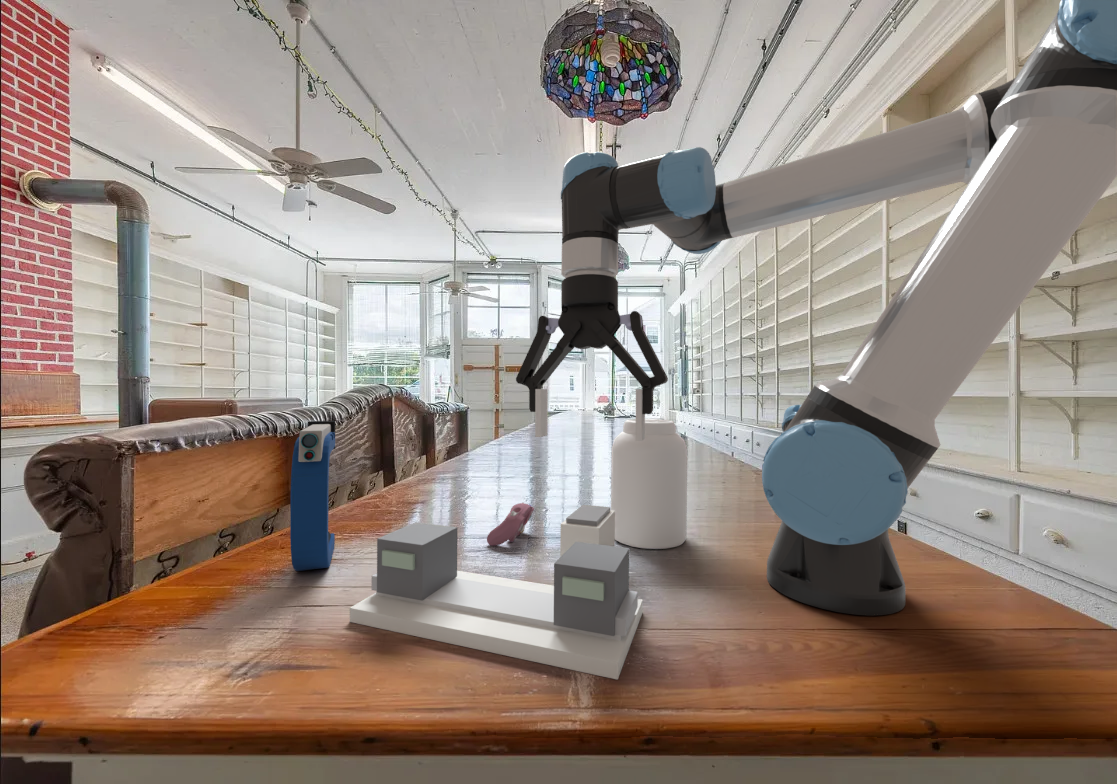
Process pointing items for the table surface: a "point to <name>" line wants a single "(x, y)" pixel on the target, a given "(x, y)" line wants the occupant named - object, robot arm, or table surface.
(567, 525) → the block
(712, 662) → the table surface
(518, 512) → the pink rounded piece
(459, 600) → the board
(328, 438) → the handheld scanner
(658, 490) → the white jar
